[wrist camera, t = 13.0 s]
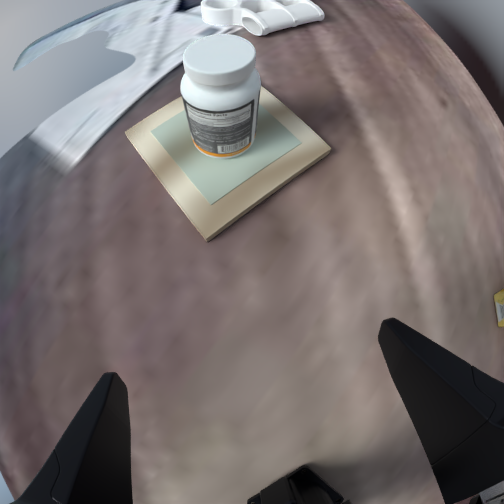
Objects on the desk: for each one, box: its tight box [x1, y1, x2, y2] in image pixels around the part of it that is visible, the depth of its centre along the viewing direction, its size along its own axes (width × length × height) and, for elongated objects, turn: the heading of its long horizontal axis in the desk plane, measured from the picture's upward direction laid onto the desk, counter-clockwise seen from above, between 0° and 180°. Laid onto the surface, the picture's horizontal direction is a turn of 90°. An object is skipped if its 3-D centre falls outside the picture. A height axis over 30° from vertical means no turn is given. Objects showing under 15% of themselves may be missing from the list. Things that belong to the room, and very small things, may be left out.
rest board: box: [125, 86, 331, 242], centre depth 25 cm, size 14×14×1 cm
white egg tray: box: [201, 0, 324, 36], centre depth 31 cm, size 3×18×15 cm
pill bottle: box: [181, 34, 261, 159], centre depth 20 cm, size 6×6×10 cm
